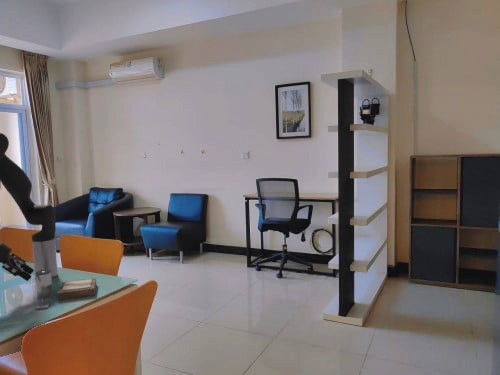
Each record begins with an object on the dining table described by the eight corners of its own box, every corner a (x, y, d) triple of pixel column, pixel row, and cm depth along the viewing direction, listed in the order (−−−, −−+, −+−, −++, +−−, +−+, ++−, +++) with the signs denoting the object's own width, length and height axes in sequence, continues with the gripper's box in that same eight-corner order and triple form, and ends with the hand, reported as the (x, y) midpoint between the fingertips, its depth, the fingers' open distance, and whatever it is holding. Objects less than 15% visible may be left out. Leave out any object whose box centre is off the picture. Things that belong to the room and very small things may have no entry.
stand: (62, 289, 156) (61, 281, 156) (96, 285, 160) (95, 277, 160) (57, 300, 144) (57, 292, 144) (94, 295, 148) (94, 287, 148)
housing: (39, 294, 151) (37, 270, 150) (53, 292, 152) (51, 268, 151) (36, 299, 146) (34, 274, 145) (51, 297, 148) (49, 272, 147)
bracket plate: (38, 305, 141) (37, 302, 141) (50, 303, 143) (49, 300, 143) (35, 311, 136) (35, 308, 136) (47, 309, 137) (47, 306, 137)
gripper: (-3, 246, 135) (36, 273, 141) (4, 238, 148) (40, 263, 154) (-19, 263, 133) (21, 289, 139) (-11, 253, 146) (26, 277, 152)
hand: (31, 275), depth 146 cm, fingers open, 8 cm apart
